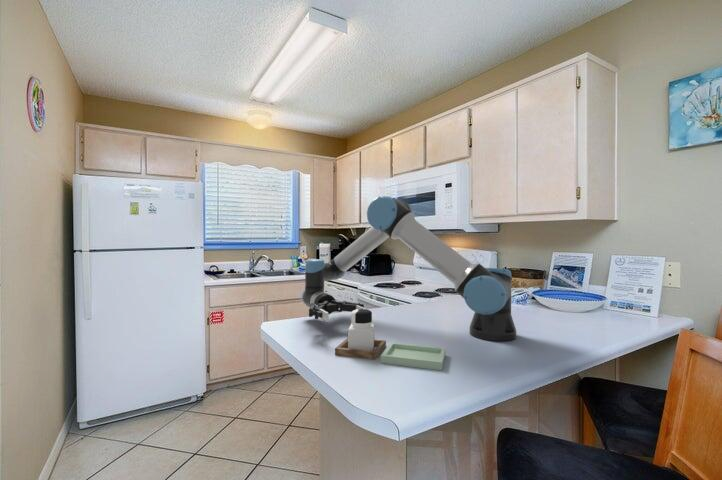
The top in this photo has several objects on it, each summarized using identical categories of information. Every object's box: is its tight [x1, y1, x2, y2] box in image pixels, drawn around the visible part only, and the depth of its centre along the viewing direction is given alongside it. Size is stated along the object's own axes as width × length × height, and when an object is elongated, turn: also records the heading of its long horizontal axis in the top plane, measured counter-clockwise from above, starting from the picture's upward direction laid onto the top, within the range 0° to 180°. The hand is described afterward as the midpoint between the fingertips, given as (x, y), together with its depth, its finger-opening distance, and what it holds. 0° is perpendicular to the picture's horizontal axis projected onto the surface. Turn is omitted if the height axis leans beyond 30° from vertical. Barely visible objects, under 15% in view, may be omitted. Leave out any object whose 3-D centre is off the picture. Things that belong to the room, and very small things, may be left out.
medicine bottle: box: [347, 308, 375, 351], centre depth 103 cm, size 7×7×12 cm
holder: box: [334, 337, 387, 360], centre depth 103 cm, size 12×12×2 cm
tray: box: [380, 341, 447, 371], centre depth 96 cm, size 16×12×2 cm
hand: (347, 315), depth 111 cm, fingers open, 13 cm apart
